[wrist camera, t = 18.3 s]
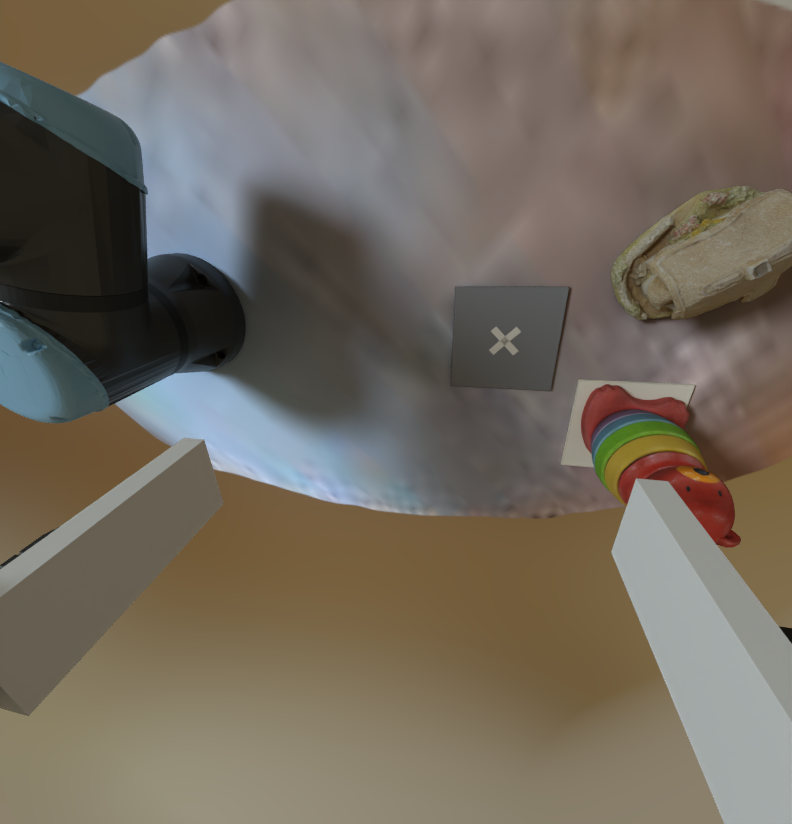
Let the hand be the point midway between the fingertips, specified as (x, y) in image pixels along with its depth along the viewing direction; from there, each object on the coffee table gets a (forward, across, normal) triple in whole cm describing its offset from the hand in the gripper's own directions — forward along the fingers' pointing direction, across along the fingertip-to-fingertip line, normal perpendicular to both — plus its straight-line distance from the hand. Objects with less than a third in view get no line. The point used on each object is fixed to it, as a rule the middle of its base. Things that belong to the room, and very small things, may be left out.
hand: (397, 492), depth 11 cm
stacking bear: (+34, +21, -15) cm, 43 cm away
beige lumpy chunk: (+35, +23, +4) cm, 42 cm away
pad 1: (+35, +6, -4) cm, 36 cm away
